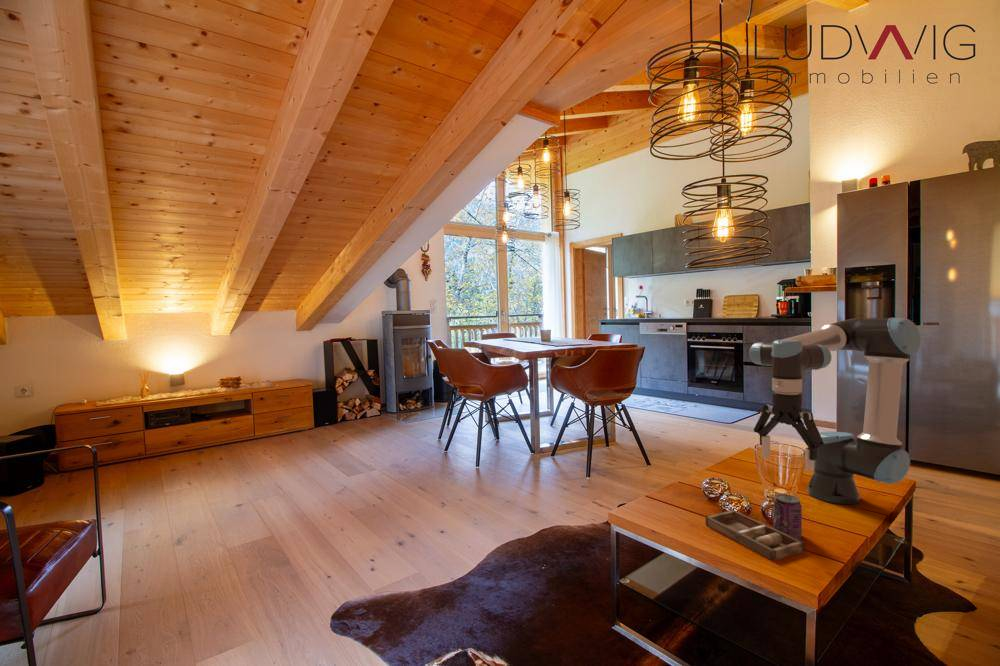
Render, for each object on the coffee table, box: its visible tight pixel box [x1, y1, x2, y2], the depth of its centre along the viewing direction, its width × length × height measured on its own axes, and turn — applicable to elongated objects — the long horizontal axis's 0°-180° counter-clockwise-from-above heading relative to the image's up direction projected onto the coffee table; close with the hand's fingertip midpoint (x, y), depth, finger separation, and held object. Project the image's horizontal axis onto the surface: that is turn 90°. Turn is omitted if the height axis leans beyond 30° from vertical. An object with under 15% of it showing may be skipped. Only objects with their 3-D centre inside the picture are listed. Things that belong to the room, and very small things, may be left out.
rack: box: [705, 509, 805, 562], centre depth 135 cm, size 12×23×4 cm, turn 22°
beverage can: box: [773, 493, 803, 541], centre depth 136 cm, size 7×7×12 cm
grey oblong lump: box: [755, 533, 782, 547], centre depth 130 cm, size 7×3×3 cm, turn 112°
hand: (786, 463), depth 136 cm, fingers open, 13 cm apart
